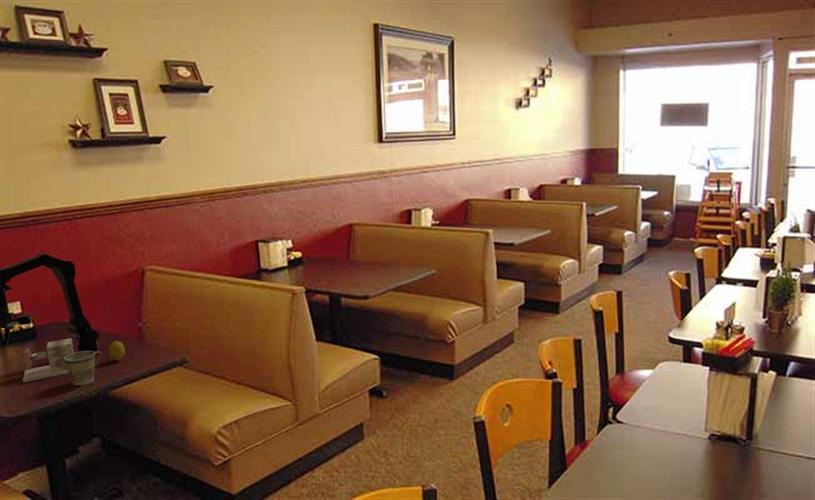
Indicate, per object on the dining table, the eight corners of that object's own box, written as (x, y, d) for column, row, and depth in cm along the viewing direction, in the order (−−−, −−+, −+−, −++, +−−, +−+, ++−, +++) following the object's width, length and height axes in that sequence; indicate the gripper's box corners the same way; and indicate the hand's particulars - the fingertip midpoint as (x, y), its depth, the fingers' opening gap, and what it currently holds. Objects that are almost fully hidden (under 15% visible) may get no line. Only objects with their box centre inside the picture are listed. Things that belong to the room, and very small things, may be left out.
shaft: (56, 358, 248) (53, 343, 247) (55, 362, 243) (53, 347, 242) (27, 363, 244) (25, 348, 243) (26, 368, 239) (23, 352, 238)
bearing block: (75, 361, 252) (71, 338, 250) (75, 367, 245) (71, 343, 243) (51, 366, 249) (47, 342, 247) (51, 372, 242) (46, 348, 240)
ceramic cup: (78, 389, 226) (74, 362, 224) (62, 385, 231) (57, 358, 229) (112, 376, 236) (108, 350, 234) (96, 372, 242) (92, 346, 240)
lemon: (129, 358, 255) (126, 339, 253) (117, 363, 250) (114, 343, 248) (119, 357, 257) (116, 338, 255) (107, 362, 252) (104, 342, 251)
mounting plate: (78, 362, 254) (78, 359, 254) (78, 371, 244) (78, 368, 244) (25, 372, 247) (25, 369, 247) (23, 382, 236) (22, 379, 236)
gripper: (-37, 314, 223) (-28, 357, 226) (26, 304, 231) (33, 346, 234) (-32, 307, 233) (-24, 348, 236) (28, 298, 241) (35, 338, 244)
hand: (5, 345), depth 237 cm, fingers closed
